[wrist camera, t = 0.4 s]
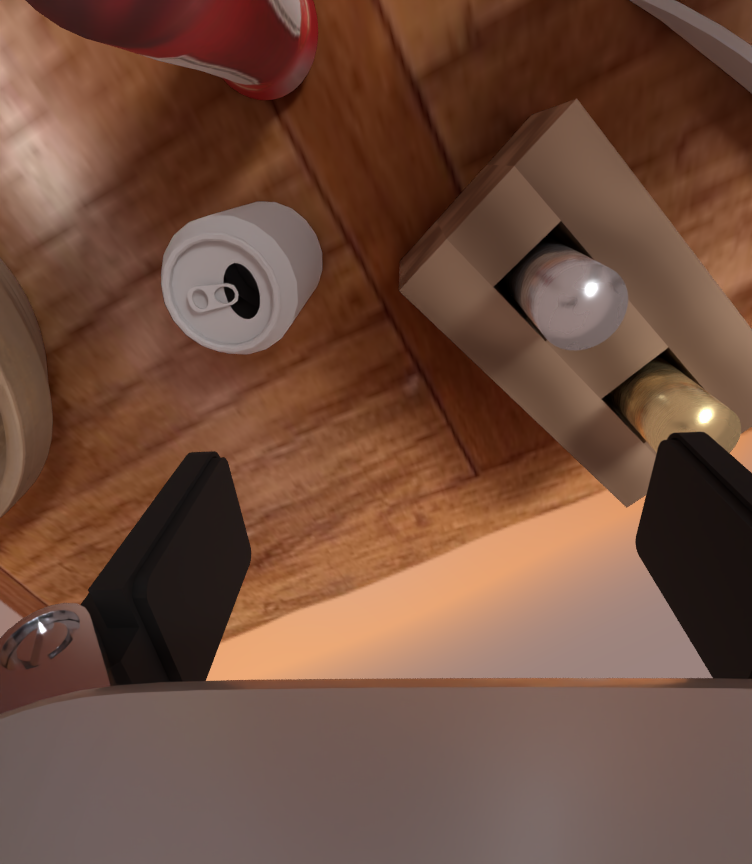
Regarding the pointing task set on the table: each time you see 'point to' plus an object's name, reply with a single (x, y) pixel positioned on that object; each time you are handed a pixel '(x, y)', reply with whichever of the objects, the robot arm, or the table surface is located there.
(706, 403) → the brass peg
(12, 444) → the brown mixing bowl
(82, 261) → the table surface
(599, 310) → the steel peg
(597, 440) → the socket block
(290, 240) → the can
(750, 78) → the kitchen knife
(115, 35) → the liquor
